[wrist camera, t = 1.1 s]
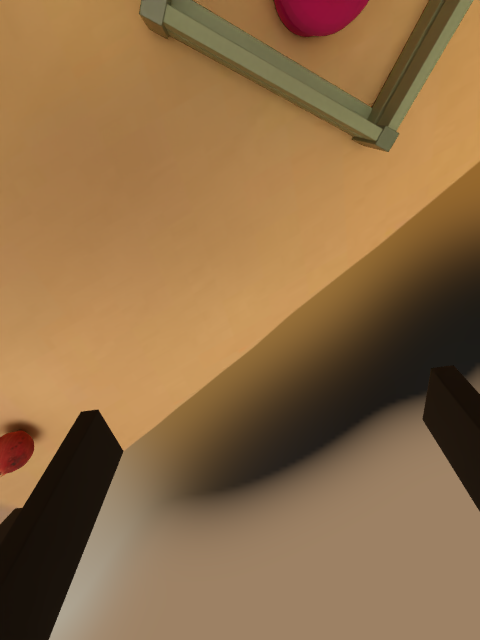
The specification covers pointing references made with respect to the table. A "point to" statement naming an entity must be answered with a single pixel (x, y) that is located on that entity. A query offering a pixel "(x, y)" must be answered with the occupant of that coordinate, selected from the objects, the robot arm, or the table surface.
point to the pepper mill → (318, 15)
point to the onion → (15, 451)
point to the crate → (303, 85)
